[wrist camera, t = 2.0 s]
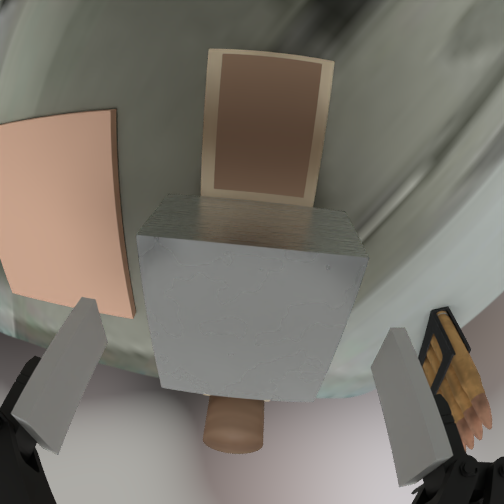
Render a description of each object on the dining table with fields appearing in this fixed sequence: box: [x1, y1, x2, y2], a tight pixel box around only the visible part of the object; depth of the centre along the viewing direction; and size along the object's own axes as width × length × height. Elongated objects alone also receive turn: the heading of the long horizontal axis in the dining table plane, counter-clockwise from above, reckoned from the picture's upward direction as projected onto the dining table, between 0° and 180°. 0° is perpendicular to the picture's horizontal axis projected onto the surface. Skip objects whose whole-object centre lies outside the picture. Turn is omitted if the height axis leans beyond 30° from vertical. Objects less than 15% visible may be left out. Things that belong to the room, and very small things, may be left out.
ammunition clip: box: [418, 307, 492, 452], centre depth 20 cm, size 11×2×12 cm, turn 10°
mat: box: [0, 109, 136, 319], centre depth 20 cm, size 16×14×1 cm
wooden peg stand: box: [201, 49, 335, 454], centre depth 16 cm, size 22×5×10 cm, turn 175°
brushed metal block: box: [136, 194, 369, 402], centre depth 14 cm, size 9×8×4 cm
